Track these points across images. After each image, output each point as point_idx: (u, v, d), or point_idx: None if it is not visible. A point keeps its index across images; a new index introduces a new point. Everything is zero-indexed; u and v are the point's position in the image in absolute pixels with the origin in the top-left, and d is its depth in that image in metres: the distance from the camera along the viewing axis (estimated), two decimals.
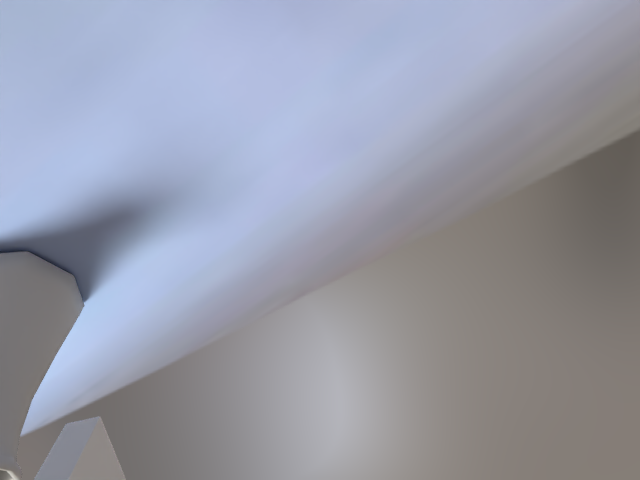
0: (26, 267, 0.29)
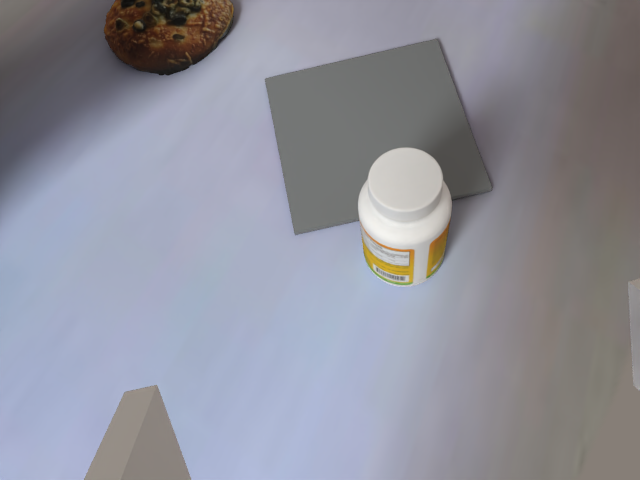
0: None
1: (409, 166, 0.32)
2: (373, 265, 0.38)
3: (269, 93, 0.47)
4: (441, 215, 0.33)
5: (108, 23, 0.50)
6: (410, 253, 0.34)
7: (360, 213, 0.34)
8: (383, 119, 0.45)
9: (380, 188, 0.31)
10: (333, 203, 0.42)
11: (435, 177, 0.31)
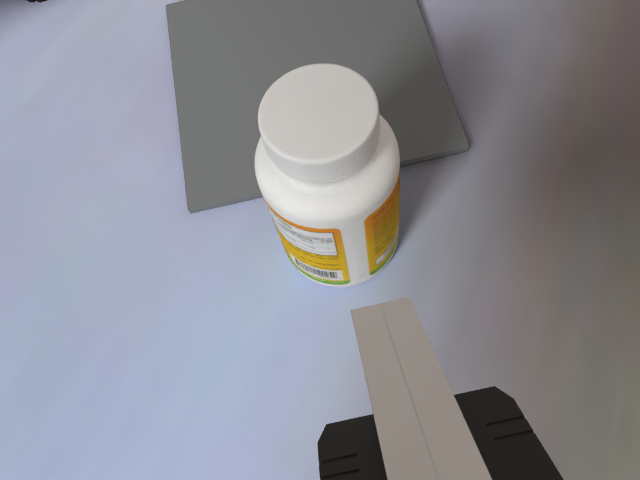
0: None
1: (324, 92, 0.20)
2: (291, 255, 0.26)
3: (170, 23, 0.34)
4: (380, 175, 0.21)
5: None
6: (335, 234, 0.22)
7: (256, 172, 0.22)
8: (322, 54, 0.32)
9: (276, 126, 0.19)
10: (244, 169, 0.30)
11: (366, 108, 0.19)
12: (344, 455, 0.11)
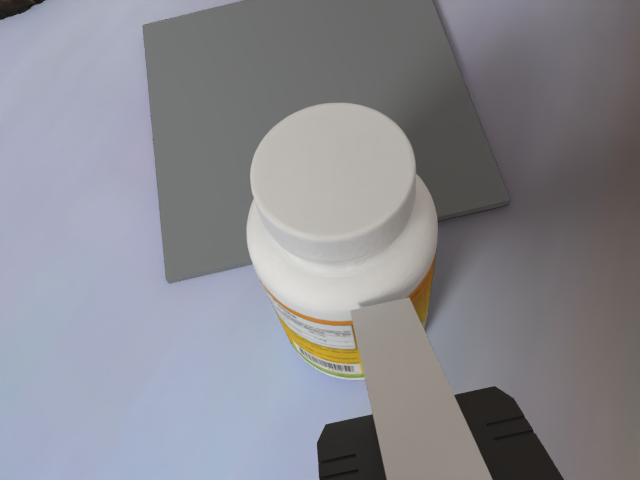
0: None
1: (341, 140, 0.14)
2: (294, 343, 0.20)
3: (147, 47, 0.29)
4: (416, 248, 0.15)
5: None
6: None
7: (248, 246, 0.16)
8: (327, 85, 0.27)
9: (275, 189, 0.14)
10: (235, 228, 0.24)
11: (398, 162, 0.14)
12: (343, 455, 0.11)
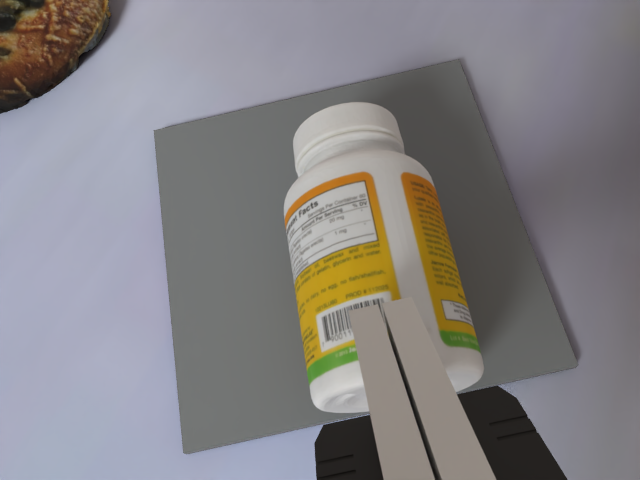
0: None
1: None
2: (318, 326, 0.17)
3: (159, 158, 0.26)
4: (410, 158, 0.20)
5: None
6: (368, 186, 0.18)
7: None
8: None
9: None
10: (262, 389, 0.21)
11: None
12: (341, 456, 0.11)
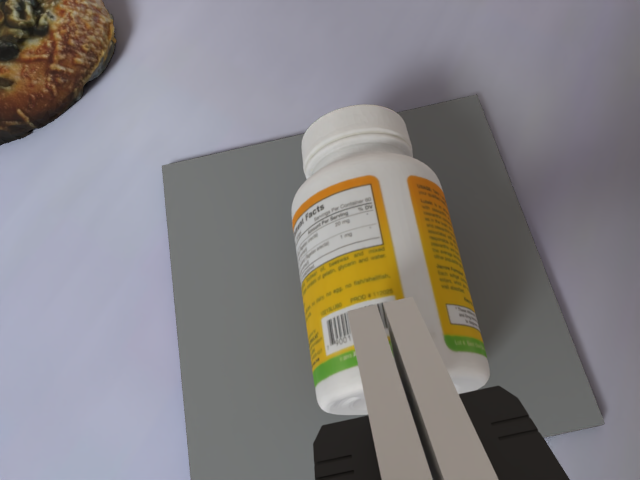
0: None
1: None
2: (323, 329, 0.18)
3: (167, 195, 0.25)
4: (418, 161, 0.20)
5: None
6: (374, 190, 0.18)
7: (292, 203, 0.21)
8: None
9: None
10: (275, 445, 0.21)
11: None
12: (339, 456, 0.11)
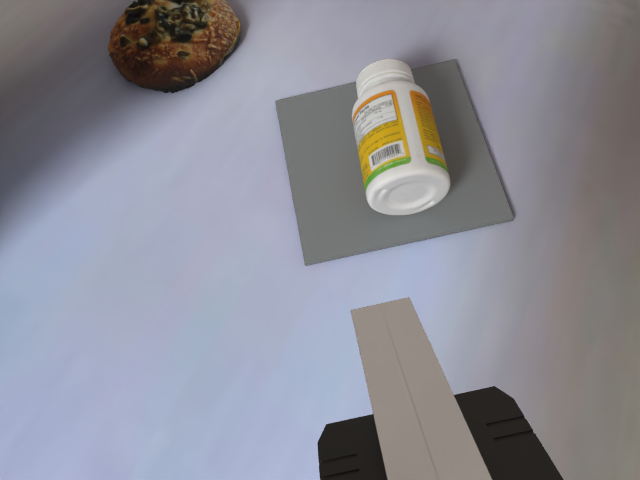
0: None
1: None
2: (369, 160, 0.37)
3: (279, 116, 0.45)
4: None
5: (112, 40, 0.49)
6: (393, 96, 0.38)
7: (352, 110, 0.40)
8: None
9: None
10: (345, 233, 0.40)
11: None
12: (344, 455, 0.11)
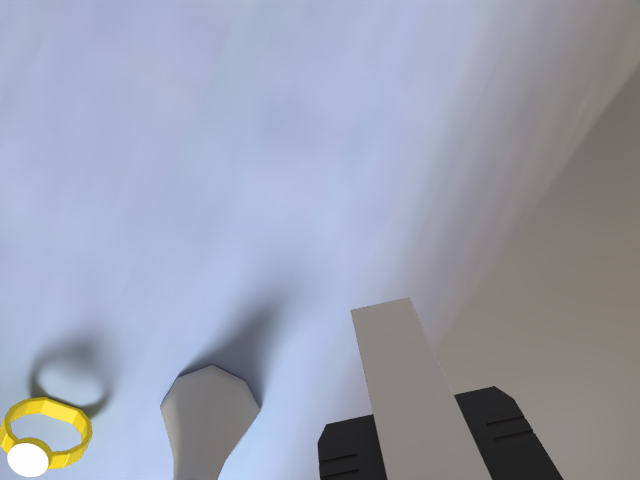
0: (212, 373, 0.44)
1: None
2: None
3: None
4: None
5: None
6: None
7: None
8: None
9: None
10: None
11: None
12: (344, 455, 0.11)
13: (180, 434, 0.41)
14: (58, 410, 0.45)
